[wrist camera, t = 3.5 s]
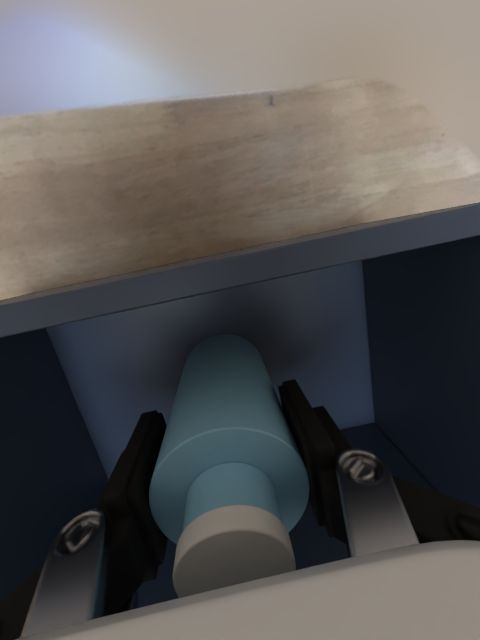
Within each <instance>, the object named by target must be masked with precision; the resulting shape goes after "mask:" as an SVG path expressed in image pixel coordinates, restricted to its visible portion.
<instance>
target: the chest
mask: <svg viewBox="0 0 480 640" xmlns="http://www.w3.org/2000/svg"><path fill="white" fill-rule="evenodd" d="M217 334H233V335H237V336H240V337H243V338H244V339H246V340H248V341H249V342H251V343H252V344H253V345H254V346H255V347H256V348H257V350H258V351H259V353H260V355H261V357H262V359H263V362H264V364H265V367H266V369H267V372H268V374H269V377H270V379H271V382H272V384H273V387H274V389H275V392H276V394H277V397H278V399H279V402H280V404H281V399H280V394H279V388H278V386H282V382H284V381H288V380H293V379H295V380H296V381H297V383H298V384H299V386H300V388H301V390H302V391H303V393H304V395H305V396H306V398H307V400H308V401H309V403H310V405H311V406H312V408H314V407H318V406H324V407H325V408H326V410H327V411H328V413H329V414H330V416H331V417H332V419H333V420H334V422H335V423H336V425H337V426H338V428H339V429H340V431H341V432H342V434H343V435H344V437H345V438H346V440H347V441H348V443H349V444H350V446H351V447H352V449H354V448H359V449H366V450H369V451H372V452H374V453H375V454H377V455H379V456H380V457H381V458H382V459H383V460H384V461H385V462H386V464H387V466H388V467H389V470H390V472H391V475H393V476H396V477H398V478H401V479H404V480H406V481H409V482H412V483H415V484H417V485H420V486H423V487H425V488H428V489H431V490H434V491H436V492H439V493H442V494H444V495H447V496H450V497H453V498H455V499H458V500H461V501H463V502H466V503H469V504H471V505H474V506H477V507H479V508H480V202H479V203H474V204H468V205H463V206H457V207H452V208H446V209H441V210H435V211H430V212H424V213H418V214H413V215H407V216H402V217H396V218H391V219H385V220H380V221H374V222H369V223H363V224H359V225H354V226H349V227H344V228H340V229H335V230H330V231H325V232H321V233H316V234H311V235H306V236H302V237H297V238H292V239H287V240H283V241H278V242H273V243H268V244H264V245H259V246H254V247H249V248H245V249H240V250H235V251H230V252H225V253H221V254H216V255H211V256H206V257H202V258H197V259H192V260H187V261H183V262H178V263H173V264H168V265H164V266H159V267H154V268H149V269H145V270H140V271H135V272H130V273H126V274H121V275H116V276H111V277H107V278H102V279H97V280H92V281H88V282H83V283H78V284H73V285H69V286H64V287H59V288H54V289H50V290H45V291H40V292H35V293H31V294H26V295H22V296H17V297H13V298H9V299H4V300H0V600H1V599H3V598H4V597H5V596H6V595H7V594H9V593H10V592H11V591H12V590H13V589H15V588H16V587H17V586H18V585H19V584H20V583H22V582H23V581H24V580H25V579H26V578H28V577H29V576H30V575H31V574H32V573H34V572H35V571H36V570H37V569H38V568H40V567H41V566H42V565H43V564H44V563H45V560H46V557H47V554H48V551H49V547H50V545H51V543H52V540H53V538H54V536H55V535H56V534H57V532H58V531H59V530H60V528H61V527H62V526H63V525H64V524H65V523H66V522H67V521H69V520H70V519H71V518H73V517H74V516H75V515H77V514H79V513H81V512H83V511H85V510H88V509H93V508H95V507H96V505H97V503H98V501H99V499H100V497H101V495H102V493H103V491H104V489H105V486H106V484H107V482H108V480H109V478H110V476H111V474H112V472H113V470H114V468H115V465H116V463H117V461H118V459H119V457H120V455H121V453H122V452H123V451H124V450H125V448H126V446H127V444H128V442H129V439H130V437H131V435H132V433H133V431H134V429H135V427H136V424H137V422H138V420H139V418H140V416H141V414H142V413H145V412H149V411H154V410H157V412H158V413H162V414H163V416H164V420H165V423H166V426H167V424H168V421H169V417H170V414H171V410H172V407H173V403H174V400H175V397H176V393H177V390H178V386H179V383H180V379H181V376H182V372H183V369H184V366H185V362H186V359H187V357H188V355H189V353H190V351H191V350H192V349H193V348H194V347H195V346H196V345H197V344H198V343H199V342H200V341H202V340H204V339H205V338H207V337H210V336H213V335H217ZM281 406H282V405H281ZM288 534H289V537H290V541H291V545H292V549H293V553H294V557H295V563H296V570H300V569H304V568H308V567H312V566H317V565H321V564H325V563H330V562H334V561H338V560H343V559H347V558H348V556H347V550H346V544H345V543H343V542H341V541H339V540H338V539H336V538H334V537H331V538H329V536H328V534H327V531H326V528H325V526H322V527H319V526H318V524H317V521H316V518H315V516H314V513H313V510H312V507H311V504H310V502H309V499H308V503H307V506H306V508H305V511H304V513H303V515H302V516H301V518H300V520H299V521H298V522H297V524H296V525H295V526H294V527H293V528H292V529H291V531H290V532H289V533H288ZM176 547H177V544H175V543H174V542H172V541H171V540H170V539H169V538H168V542H167V548H166V554H165V559H164V562H163V564H161V565H159V567H158V573H157V578H156V579H155V580H151V581H146V582H143V583H142V585H141V586H140V587H139V588H138V608H141V607H145V606H149V605H153V604H157V603H161V602H165V601H169V600H174V599H178V598H179V597H178V595H177V593H176V591H175V588H174V585H173V568H174V561H175V553H176Z"/></svg>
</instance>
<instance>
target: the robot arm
mask: <svg viewBox="0 0 480 640" xmlns="http://www.w3.org/2000/svg"><path fill="white" fill-rule="evenodd" d="M278 388H279V394H280V399H281V405H282V409H283V411H284V414H285V416H286V419H287V421H288V424H289V426H290V429H291V431H292V434H293V436H294V439H295V441H296V444H297V446H298V449H299V451H300V454H301V456H302V459H303V461H304V464H305V466H306V468H307V473H308V478H309V485H310V490H309V498H308V499H309V502H310V504H311V507H312V510H313V513H314V516H315V518H316V521H317V524H318V526H319V527H322V526H325V528H326V531H327V534H328V536H329V538H331V537H334V538H336V539H338V540H339V541H341V542H343V543H345V544H346V550H347V556H348V558H347V559H343V560H338V561H334V562H330V563H325V564H321V565H317V566H312V567H308V568H304V569H300V570H295V571H291V572H287V573H282V574H278V575H274V576H270V577H265V578H261V579H257V580H253V581H249V582H244V583H240V584H236V585H232V586H228V587H223V588H219V589H215V590H211V591H207V592H203V593H198V594H194V595H190V596H186V597H182V598H178V599H174V600H169V601H165V602H161V603H157V604H153V605H149V606H145V607H141V608H138V588H139V587H140V586H141V585H142V583H143V582H146V581H151V580H155V579H156V578H157V573H158V567H159V565H161V564H163V562H164V559H165V554H166V548H167V542H168V538H167V537H166V536H165V535H164V533H163V532H162V531H161V530H160V529H159V527H158V526H157V524H156V523H155V520H154V518H153V516H152V513H151V510H150V505H149V488H150V483H151V479H152V476H153V472H154V469H155V465H156V462H157V459H158V455H159V452H160V448H161V445H162V441H163V438H164V434H165V431H166V428H167V426H166V423H165V420H164V416H163V414H162V413H158V412H157V410H154V411H149V412H145V413H142V414H141V416H140V418H139V420H138V422H137V424H136V427H135V429H134V431H133V433H132V435H131V437H130V439H129V442H128V444H127V446H126V448H125V450H124V451H123V452H122V453H121V455H120V457H119V459H118V461H117V463H116V465H115V468H114V470H113V472H112V474H111V476H110V478H109V480H108V482H107V484H106V486H105V489H104V491H103V493H102V495H101V497H100V499H99V501H98V503H97V505H96V507H95V508H93V509H88V510H85V511H83V512H81V513H79V514H77V515H75V516H74V517H73V518H71V519H70V520H69V521H67V522H66V523H65V524H64V525H63V526H62V527H61V528H60V530H59V531H58V532H57V534H56V535H55V536H54V538H53V540H52V543H51V545H50V547H49V551H48V554H47V557H46V560H45V563H44V564H43V565H42V566H41V567H40V568H38V569H37V570H36V571H35V572H34V573H32V574H31V575H30V576H29V577H28V578H26V579H25V580H24V581H23V582H22V583H20V584H19V585H18V586H17V587H16V588H15V589H13V590H12V591H11V592H10V593H9V594H7V595H6V596H5V597H4V598H3V599H1V600H0V640H480V508H479V507H477V506H474V505H471V504H469V503H466V502H463V501H461V500H458V499H455V498H453V497H450V496H447V495H444V494H442V493H439V492H436V491H434V490H431V489H428V488H425V487H423V486H420V485H417V484H415V483H412V482H409V481H406V480H404V479H401V478H398V477H396V476H393V475H391V472H390V470H389V467H388V466H387V464H386V462H385V461H384V460H383V459H382V458H381V457H380V456H379V455H377V454H375V453H374V452H372V451H369V450H366V449H359V448H354V449H352V447H351V446H350V444H349V443H348V441H347V440H346V438H345V437H344V435H343V434H342V432H341V431H340V429H339V428H338V426H337V425H336V423H335V422H334V420H333V419H332V417H331V416H330V414H329V413H328V411H327V410H326V408H325V407H324V406H318V407H314V408H312V406H311V405H310V403H309V401H308V400H307V398H306V396H305V395H304V393H303V391H302V390H301V388H300V386H299V384H298V383H297V381H296V380H295V379H293V380H288V381H284V382H282V386H278Z"/></svg>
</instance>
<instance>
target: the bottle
mask: <svg viewBox="0 0 480 640" xmlns="http://www.w3.org/2000/svg"><path fill="white" fill-rule="evenodd" d="M309 490H310V485H309V478H308V473H307V468H306V466H305V464H304V461H303V459H302V456H301V454H300V451H299V449H298V446H297V444H296V441H295V439H294V436H293V434H292V431H291V429H290V426H289V424H288V421H287V419H286V416H285V414H284V411H283V409H282V406H281V404H280V402H279V399H278V397H277V394H276V392H275V389H274V387H273V384H272V382H271V379H270V377H269V374H268V372H267V369H266V367H265V364H264V362H263V359H262V357H261V355H260V353H259V351H258V350H257V348H256V347H255V346H254V345H253V344H252V343H251V342H249V341H248V340H246V339H244V338H243V337H240V336H237V335H233V334H217V335H213V336H210V337H207V338H205V339H204V340H202V341H200V342H199V343H198V344H197V345H196V346H195V347H194V348H193V349H192V350H191V351H190V353H189V355H188V357H187V359H186V362H185V366H184V369H183V372H182V376H181V379H180V383H179V386H178V390H177V393H176V397H175V400H174V403H173V407H172V410H171V414H170V417H169V421H168V424H167V428H166V431H165V434H164V438H163V441H162V445H161V448H160V452H159V455H158V459H157V462H156V465H155V469H154V472H153V476H152V479H151V483H150V488H149V505H150V510H151V513H152V516H153V518H154V520H155V523H156V524H157V526H158V527H159V529H160V530H161V531H162V532H163V533H164V535H165V536H166V537H167V538H169V539H170V540H171V541H172V542H174V543H175V544H177V547H176V553H175V561H174V568H173V585H174V588H175V591H176V593H177V595H178V597H179V598H182V597H186V596H190V595H194V594H198V593H203V592H207V591H211V590H215V589H219V588H223V587H228V586H232V585H236V584H240V583H244V582H249V581H253V580H257V579H261V578H265V577H270V576H274V575H278V574H282V573H287V572H291V571H295V570H296V563H295V557H294V553H293V549H292V545H291V541H290V537H289V534H288V533H289V532H290V531H291V529H292V528H293V527H294V526H295V525H296V524H297V522H298V521H299V520H300V518H301V516H302V515H303V513H304V511H305V508H306V506H307V503H308V498H309Z"/></svg>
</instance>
